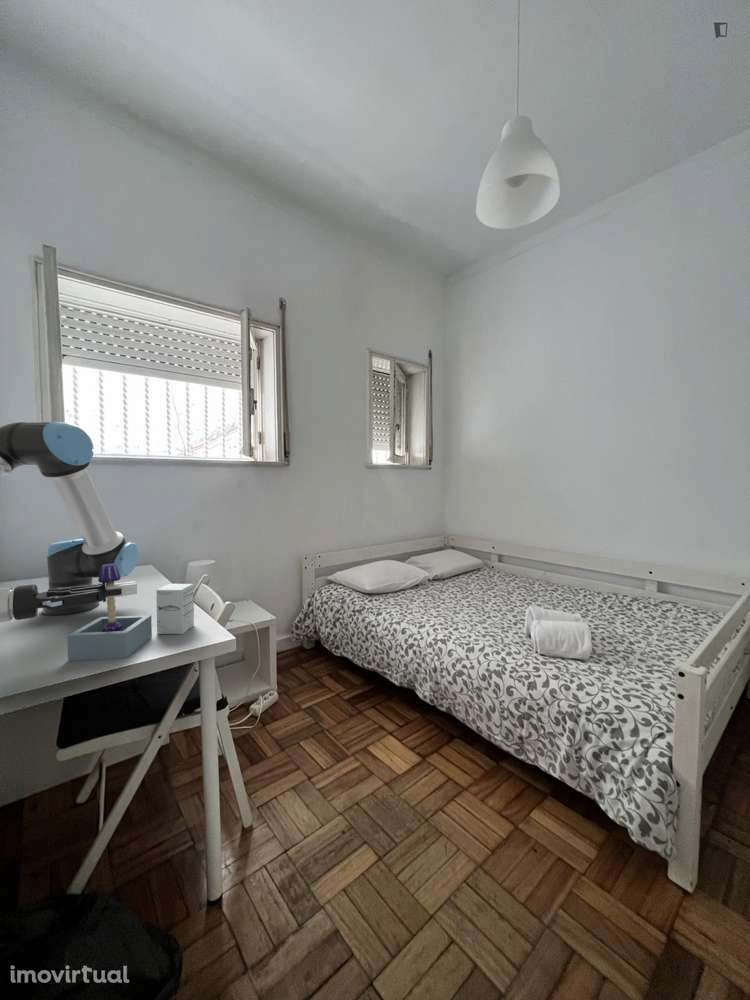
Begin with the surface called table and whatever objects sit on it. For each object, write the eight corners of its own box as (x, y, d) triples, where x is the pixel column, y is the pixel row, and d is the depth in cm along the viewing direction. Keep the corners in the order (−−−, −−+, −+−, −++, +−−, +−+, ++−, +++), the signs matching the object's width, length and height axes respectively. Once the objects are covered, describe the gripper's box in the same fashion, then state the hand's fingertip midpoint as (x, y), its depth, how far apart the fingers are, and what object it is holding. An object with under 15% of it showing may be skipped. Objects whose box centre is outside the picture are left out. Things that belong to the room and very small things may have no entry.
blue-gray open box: (100, 639, 104) (100, 617, 104) (151, 636, 106) (151, 615, 106) (68, 660, 91) (67, 635, 91) (126, 657, 93) (126, 633, 93)
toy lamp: (102, 634, 95) (100, 567, 94) (97, 630, 98) (95, 564, 97) (124, 629, 98) (123, 564, 98) (119, 625, 101) (118, 561, 101)
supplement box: (155, 634, 107) (154, 589, 107) (170, 625, 115) (169, 582, 114) (182, 634, 107) (181, 589, 107) (195, 625, 115) (194, 582, 114)
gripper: (19, 611, 93) (134, 595, 107) (8, 629, 81) (139, 608, 95) (18, 580, 93) (133, 568, 107) (7, 594, 81) (138, 578, 95)
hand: (136, 587), depth 101 cm, fingers closed on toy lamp, 2 cm apart
